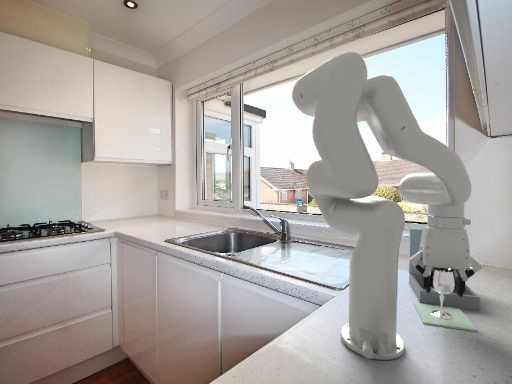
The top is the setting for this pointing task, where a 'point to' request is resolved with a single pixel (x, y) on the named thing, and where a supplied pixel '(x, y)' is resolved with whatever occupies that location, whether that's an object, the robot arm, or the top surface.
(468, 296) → the case
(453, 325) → the mat
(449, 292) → the wineglass
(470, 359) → the top surface
